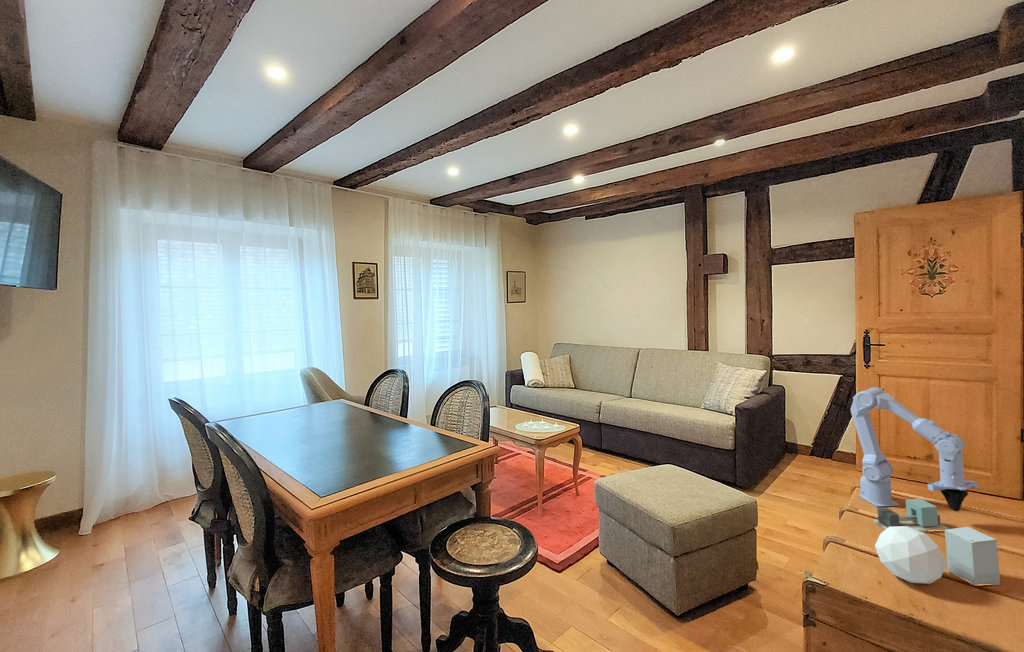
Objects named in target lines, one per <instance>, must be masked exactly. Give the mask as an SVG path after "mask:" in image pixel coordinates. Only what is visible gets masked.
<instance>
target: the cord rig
mask: <svg viewBox="0 0 1024 652" xmlns="http://www.w3.org/2000/svg"><path fill="white" fill-rule="evenodd" d="M876 510H877V519H873V523H874V524H875V525H876V526H879V528H881V529H883V530H886V529H887V528H888V527H895V526H908V527H910V528H913V529H915V530H918V531H920V532H922V533H924V532H926V531H928V530H946V529H950V527H948V526H946V525H944V524H942V523H941V517H940V515H939V514H937V515H938V526H925V527H922V526H921V525H919V524H917V515H910V516H907V515H899V514H898V513H897V512H895V511H894V510H892V509H890V508H888V507H877V509H876Z"/></svg>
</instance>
